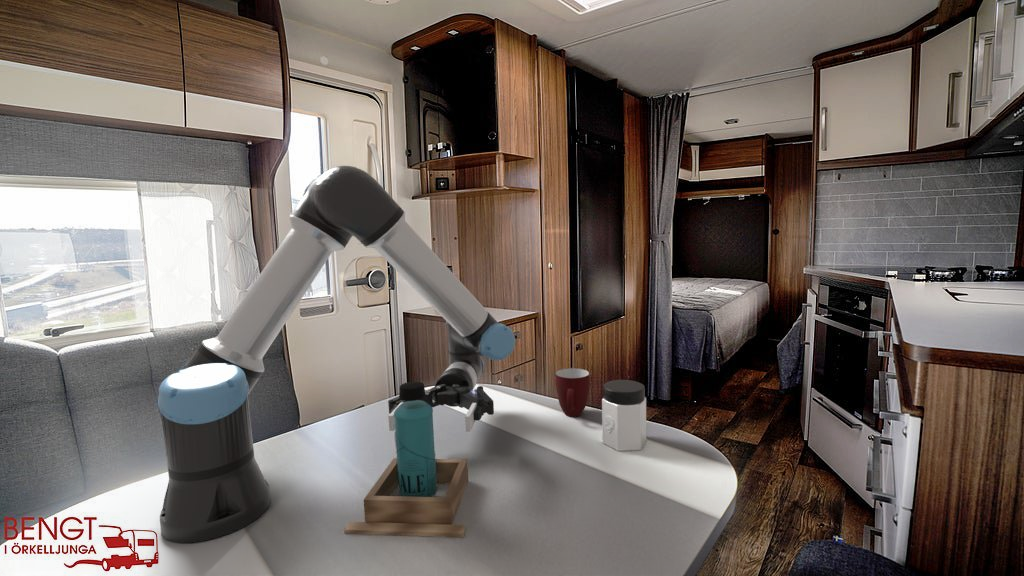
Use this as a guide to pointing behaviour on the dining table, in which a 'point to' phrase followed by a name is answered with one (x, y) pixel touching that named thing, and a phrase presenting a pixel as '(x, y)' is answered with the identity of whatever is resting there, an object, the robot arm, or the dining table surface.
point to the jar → (624, 415)
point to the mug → (572, 390)
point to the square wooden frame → (414, 505)
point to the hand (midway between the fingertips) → (428, 423)
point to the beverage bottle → (415, 443)
